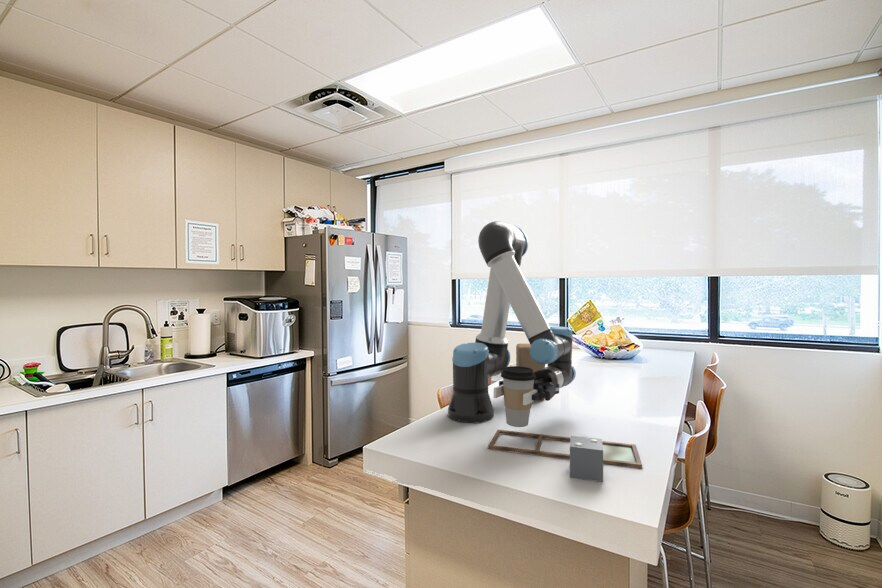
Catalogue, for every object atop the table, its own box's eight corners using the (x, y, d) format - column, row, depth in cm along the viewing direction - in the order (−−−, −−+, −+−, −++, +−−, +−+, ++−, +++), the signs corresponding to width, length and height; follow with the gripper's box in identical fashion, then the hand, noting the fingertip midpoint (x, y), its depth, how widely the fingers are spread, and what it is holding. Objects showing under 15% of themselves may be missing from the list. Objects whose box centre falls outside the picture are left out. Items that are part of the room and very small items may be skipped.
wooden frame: (488, 448, 110) (488, 445, 110) (497, 432, 122) (497, 429, 122) (642, 468, 98) (642, 464, 98) (635, 447, 110) (635, 444, 110)
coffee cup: (540, 423, 114) (542, 369, 113) (522, 432, 107) (524, 375, 106) (511, 415, 120) (513, 364, 120) (492, 423, 113) (493, 368, 113)
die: (569, 477, 93) (569, 445, 93) (570, 464, 100) (570, 435, 100) (603, 481, 91) (603, 449, 91) (601, 468, 98) (601, 438, 98)
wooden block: (541, 393, 164) (541, 343, 164) (545, 400, 154) (545, 347, 154) (516, 393, 165) (516, 343, 165) (518, 400, 155) (518, 347, 155)
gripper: (579, 399, 121) (545, 419, 103) (515, 386, 134) (475, 402, 116) (580, 374, 120) (546, 389, 103) (516, 363, 133) (476, 375, 116)
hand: (509, 396), depth 109 cm, fingers closed on coffee cup, 8 cm apart
